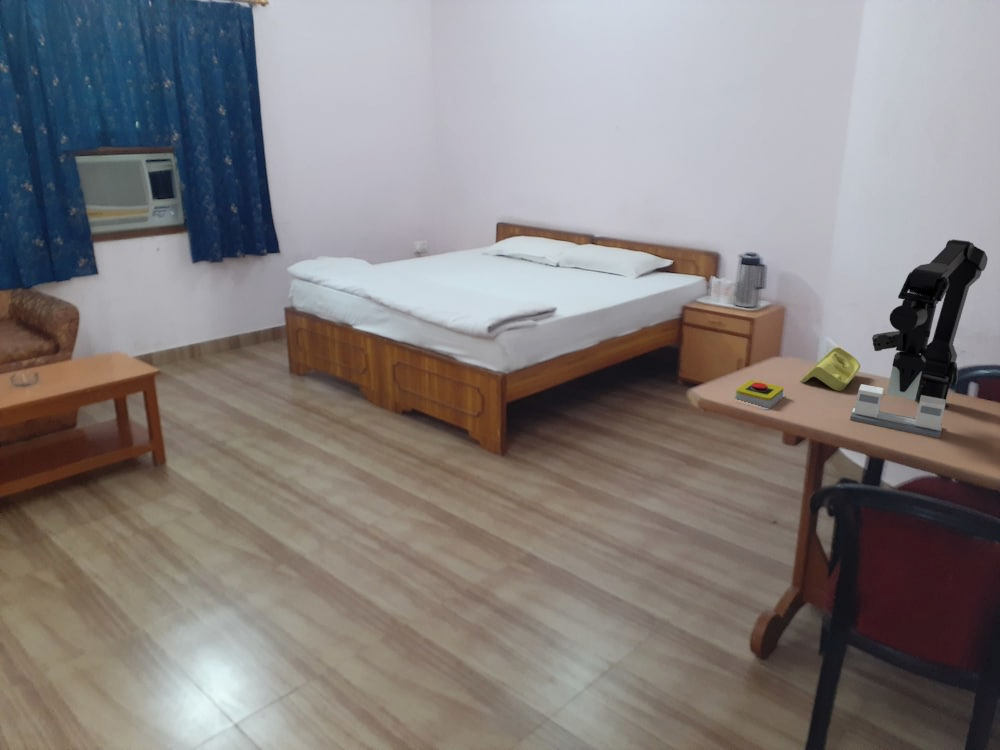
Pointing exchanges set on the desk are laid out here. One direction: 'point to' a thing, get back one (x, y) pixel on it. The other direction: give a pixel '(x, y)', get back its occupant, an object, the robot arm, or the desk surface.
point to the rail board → (922, 424)
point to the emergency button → (760, 394)
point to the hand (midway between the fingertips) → (902, 388)
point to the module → (895, 386)
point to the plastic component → (835, 369)
